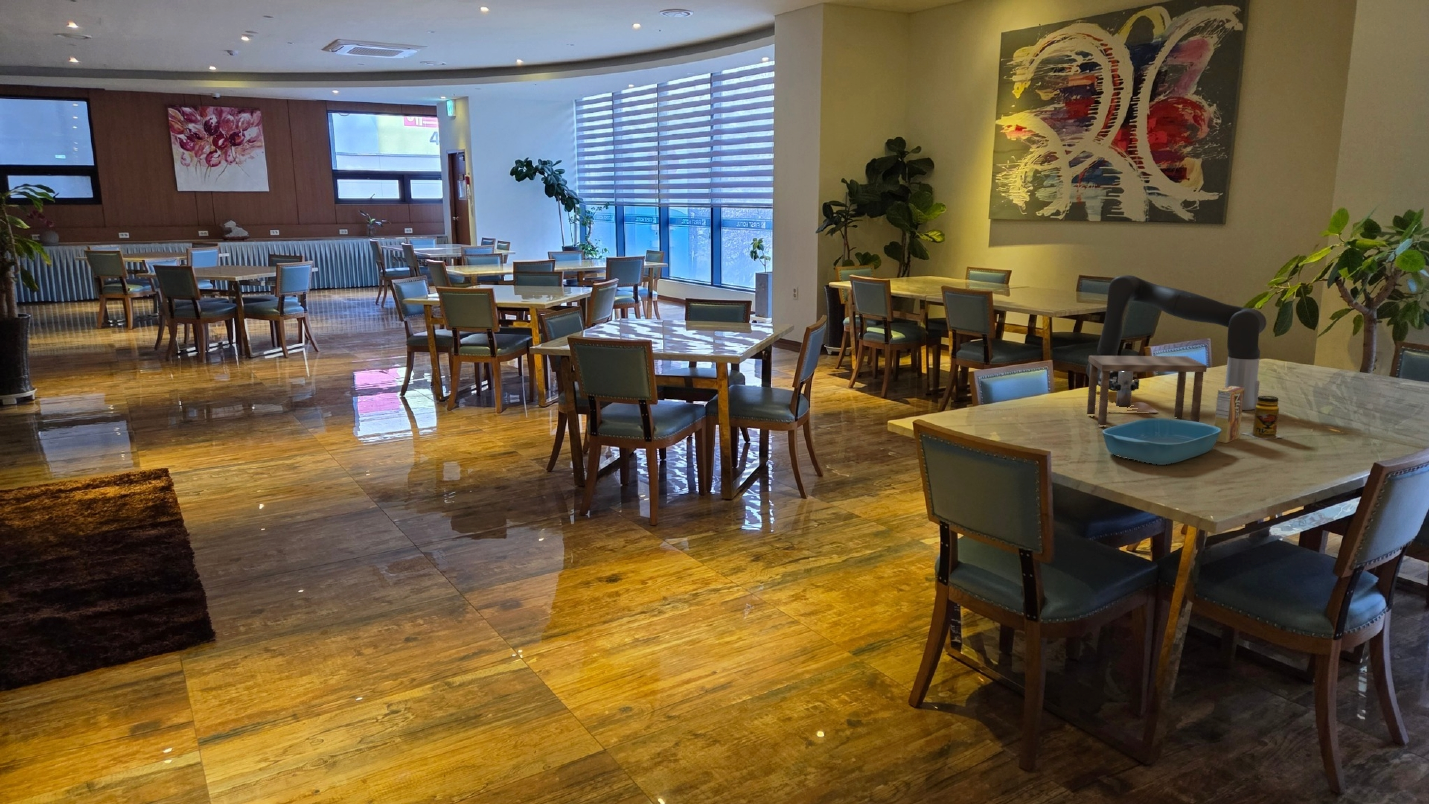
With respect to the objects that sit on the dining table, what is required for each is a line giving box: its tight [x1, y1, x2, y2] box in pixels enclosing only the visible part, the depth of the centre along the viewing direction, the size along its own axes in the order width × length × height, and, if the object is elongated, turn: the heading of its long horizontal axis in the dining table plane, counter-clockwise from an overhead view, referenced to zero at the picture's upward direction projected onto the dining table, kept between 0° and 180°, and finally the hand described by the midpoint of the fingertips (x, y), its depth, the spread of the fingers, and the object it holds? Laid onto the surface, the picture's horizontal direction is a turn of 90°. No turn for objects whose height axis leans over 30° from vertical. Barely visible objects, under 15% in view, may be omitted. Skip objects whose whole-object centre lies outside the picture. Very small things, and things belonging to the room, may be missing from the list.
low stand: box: [1086, 355, 1208, 426], centre depth 290 cm, size 30×18×20 cm, turn 81°
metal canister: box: [1115, 371, 1134, 407], centre depth 311 cm, size 4×4×12 cm
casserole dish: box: [1101, 417, 1221, 466], centre depth 256 cm, size 37×22×7 cm, turn 127°
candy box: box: [1213, 386, 1245, 444], centre depth 268 cm, size 9×4×15 cm, turn 129°
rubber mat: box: [1127, 401, 1159, 414], centre depth 313 cm, size 18×16×1 cm
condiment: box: [1241, 395, 1282, 440], centre depth 272 cm, size 7×8×12 cm
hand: (1126, 387), depth 310 cm, fingers closed on metal canister, 4 cm apart
